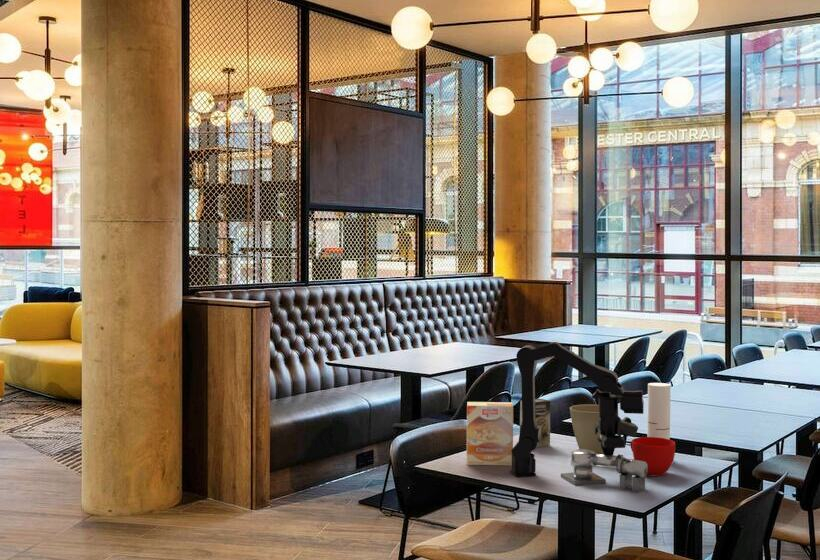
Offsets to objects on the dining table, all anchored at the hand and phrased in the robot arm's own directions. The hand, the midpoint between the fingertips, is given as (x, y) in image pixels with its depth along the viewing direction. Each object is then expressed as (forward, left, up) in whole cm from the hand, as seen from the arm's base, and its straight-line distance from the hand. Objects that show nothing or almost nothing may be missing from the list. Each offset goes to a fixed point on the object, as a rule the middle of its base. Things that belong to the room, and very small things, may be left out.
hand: (609, 463), depth 266 cm
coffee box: (-4, +48, -5) cm, 48 cm away
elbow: (-4, -1, -1) cm, 5 cm away
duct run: (+2, -11, -5) cm, 12 cm away
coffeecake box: (-28, +29, -5) cm, 40 cm away
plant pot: (+9, +30, -5) cm, 32 cm away
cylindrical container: (+27, +18, -5) cm, 33 cm away
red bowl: (+16, +5, -5) cm, 18 cm away
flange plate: (-8, +2, -5) cm, 9 cm away
